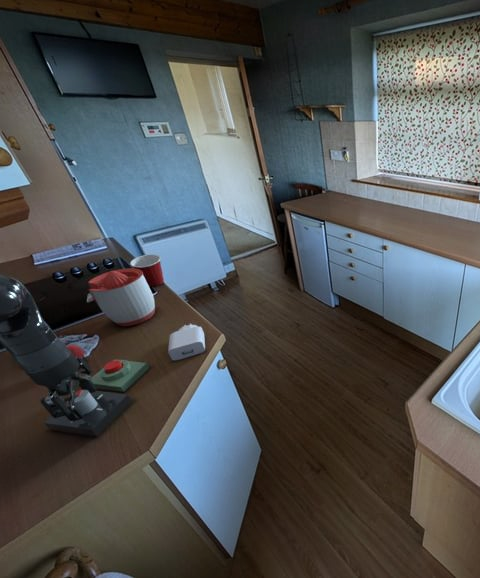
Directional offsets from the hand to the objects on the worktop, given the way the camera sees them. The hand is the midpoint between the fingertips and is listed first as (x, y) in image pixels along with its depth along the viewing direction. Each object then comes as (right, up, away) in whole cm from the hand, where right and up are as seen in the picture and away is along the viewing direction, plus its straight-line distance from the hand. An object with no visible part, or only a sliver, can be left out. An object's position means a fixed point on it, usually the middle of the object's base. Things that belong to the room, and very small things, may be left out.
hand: (85, 404), depth 74 cm
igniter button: (-2, +6, +11) cm, 12 cm away
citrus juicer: (-19, +18, +36) cm, 45 cm away
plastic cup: (-27, +32, +58) cm, 71 cm away
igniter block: (-2, +3, +13) cm, 13 cm away
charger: (+9, +11, +26) cm, 29 cm away
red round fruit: (-20, +6, +17) cm, 27 cm away
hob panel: (0, -4, +2) cm, 4 cm away
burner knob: (0, -1, 0) cm, 1 cm away
